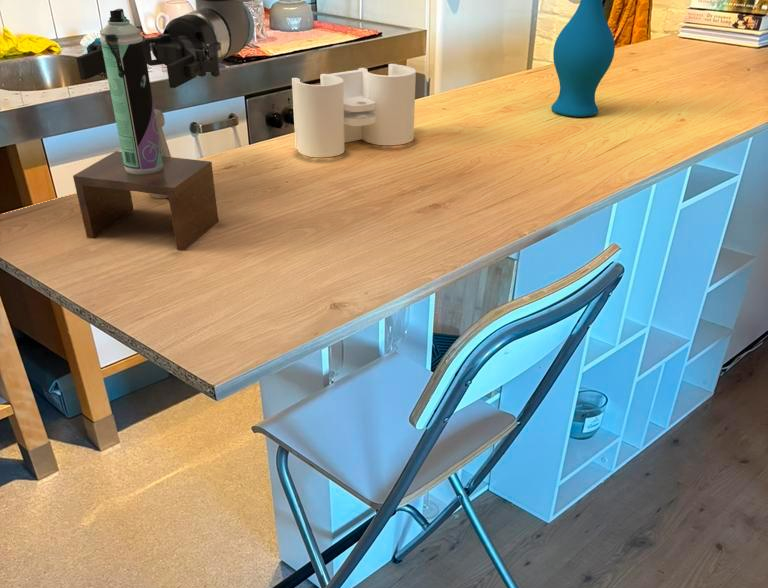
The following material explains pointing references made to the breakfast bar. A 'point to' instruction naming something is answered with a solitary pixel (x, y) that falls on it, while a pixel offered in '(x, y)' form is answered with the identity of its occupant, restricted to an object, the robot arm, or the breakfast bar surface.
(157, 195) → the salt shaker
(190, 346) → the breakfast bar surface
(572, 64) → the vase
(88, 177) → the shelf
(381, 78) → the bracket
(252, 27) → the robot arm
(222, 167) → the breakfast bar surface
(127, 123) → the spray can
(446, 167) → the breakfast bar surface
